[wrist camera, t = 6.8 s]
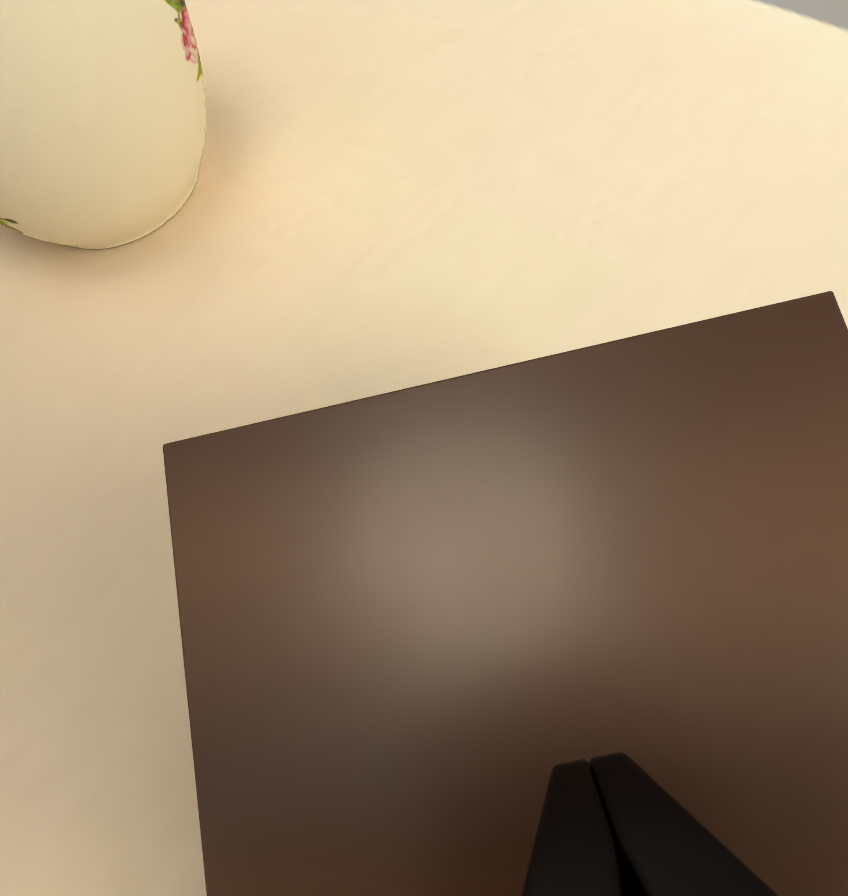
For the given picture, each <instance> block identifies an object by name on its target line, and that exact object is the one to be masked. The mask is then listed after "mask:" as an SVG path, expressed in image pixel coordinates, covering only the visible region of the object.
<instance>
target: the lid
mask: <svg viewBox="0 0 848 896" xmlns="http://www.w3.org/2000/svg"><path fill="white" fill-rule="evenodd" d="M163 454H164V464H165V474H166V484H167V495H168V505H169V515H170V525H171V535H172V545H173V556H174V566H175V576H176V586H177V596H178V607H179V617H180V627H181V637H182V647H183V657H184V668H185V678H186V688H187V698H188V708H189V719H190V729H191V739H192V749H193V759H194V769H195V780H196V790H197V800H198V810H199V820H200V830H201V841H202V851H203V861H204V871H205V881H206V892H207V896H521V895H522V891H523V887H524V882H525V878H526V874H527V870H528V866H529V862H530V857H531V853H532V849H533V845H534V841H535V836H536V832H537V828H538V824H539V820H540V816H541V811H542V807H543V803H544V799H545V795H546V790H547V786H548V782H549V778H550V774H551V770H552V768H553V766H555V765H556V764H559V763H564V762H569V761H574V760H579V759H584V760H586V761H587V762H588V763H589V765H590V760H591V758H592V757H595V756H600V755H605V754H610V753H615V752H623V753H625V754H627V755H628V756H629V757H630V758H631V759H632V760H634V761H635V762H636V763H637V764H638V765H639V766H640V767H641V768H642V769H643V770H644V771H645V772H647V773H648V774H649V775H650V776H651V777H652V778H653V779H654V780H655V781H656V782H657V783H658V784H659V785H661V786H662V787H663V788H664V789H665V790H666V791H667V792H668V793H669V794H670V795H671V796H672V797H673V798H675V799H676V800H677V801H678V802H679V803H680V804H681V805H682V806H683V807H684V808H685V809H686V810H687V811H689V812H690V813H691V814H692V815H693V816H694V817H695V818H696V819H697V820H698V821H699V822H700V823H701V824H703V825H704V826H705V827H706V828H707V829H708V830H709V831H710V832H711V833H712V834H713V835H714V836H715V837H717V838H718V839H719V840H720V841H721V842H722V843H723V844H724V845H725V846H726V847H727V848H728V849H729V850H731V851H732V852H733V853H734V854H735V855H736V856H737V857H738V858H739V859H740V860H741V861H742V862H743V863H745V864H746V865H747V866H748V867H749V868H750V869H751V870H752V871H753V872H754V873H755V874H756V875H757V876H759V877H760V878H761V879H762V880H763V881H764V882H765V883H766V884H767V885H768V886H769V887H770V888H771V889H773V890H774V891H775V892H776V893H777V894H778V895H779V896H848V329H847V326H846V324H845V321H844V319H843V316H842V314H841V311H840V309H839V306H838V304H837V301H836V298H835V296H834V293H833V292H832V291H829V292H824V293H820V294H815V295H811V296H807V297H802V298H798V299H794V300H789V301H785V302H781V303H776V304H772V305H768V306H763V307H759V308H755V309H750V310H746V311H741V312H737V313H733V314H728V315H724V316H720V317H715V318H711V319H707V320H702V321H698V322H694V323H689V324H685V325H681V326H676V327H672V328H667V329H663V330H659V331H654V332H650V333H646V334H641V335H637V336H633V337H628V338H624V339H620V340H615V341H611V342H607V343H602V344H598V345H593V346H589V347H585V348H580V349H576V350H572V351H567V352H563V353H559V354H554V355H550V356H546V357H541V358H537V359H533V360H528V361H524V362H520V363H515V364H511V365H506V366H502V367H498V368H493V369H489V370H485V371H480V372H476V373H472V374H467V375H463V376H459V377H454V378H450V379H446V380H441V381H437V382H432V383H428V384H424V385H419V386H415V387H411V388H406V389H402V390H398V391H393V392H389V393H385V394H380V395H376V396H372V397H367V398H363V399H358V400H354V401H350V402H345V403H341V404H337V405H332V406H328V407H324V408H319V409H315V410H311V411H306V412H302V413H298V414H293V415H289V416H284V417H280V418H276V419H271V420H267V421H263V422H258V423H254V424H250V425H245V426H241V427H237V428H232V429H228V430H224V431H219V432H215V433H210V434H206V435H202V436H197V437H193V438H189V439H184V440H180V441H176V442H171V443H167V444H164V445H163Z"/></svg>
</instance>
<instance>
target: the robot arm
mask: <svg viewBox="0 0 848 896" xmlns="http://www.w3.org/2000/svg"><path fill="white" fill-rule="evenodd" d="M521 896H779V895H778V894H777V893H776V892H775V891H774V890H773V889H771V888H770V887H769V886H768V885H767V884H766V883H765V882H764V881H763V880H762V879H761V878H760V877H759V876H757V875H756V874H755V873H754V872H753V871H752V870H751V869H750V868H749V867H748V866H747V865H746V864H745V863H743V862H742V861H741V860H740V859H739V858H738V857H737V856H736V855H735V854H734V853H733V852H732V851H731V850H729V849H728V848H727V847H726V846H725V845H724V844H723V843H722V842H721V841H720V840H719V839H718V838H717V837H715V836H714V835H713V834H712V833H711V832H710V831H709V830H708V829H707V828H706V827H705V826H704V825H703V824H701V823H700V822H699V821H698V820H697V819H696V818H695V817H694V816H693V815H692V814H691V813H690V812H689V811H687V810H686V809H685V808H684V807H683V806H682V805H681V804H680V803H679V802H678V801H677V800H676V799H675V798H673V797H672V796H671V795H670V794H669V793H668V792H667V791H666V790H665V789H664V788H663V787H662V786H661V785H659V784H658V783H657V782H656V781H655V780H654V779H653V778H652V777H651V776H650V775H649V774H648V773H647V772H645V771H644V770H643V769H642V768H641V767H640V766H639V765H638V764H637V763H636V762H635V761H634V760H632V759H631V758H630V757H629V756H628V755H627V754H625V753H623V752H615V753H610V754H605V755H600V756H595V757H592V758H591V760H590V765H589V763H588V762H587V761H586V760H584V759H579V760H574V761H569V762H564V763H559V764H556V765H555V766H553V768H552V770H551V774H550V778H549V782H548V786H547V790H546V795H545V799H544V803H543V807H542V811H541V816H540V820H539V824H538V828H537V832H536V836H535V841H534V845H533V849H532V853H531V857H530V862H529V866H528V870H527V874H526V878H525V882H524V887H523V891H522V895H521Z"/></svg>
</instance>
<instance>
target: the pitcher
mask: <svg viewBox="0 0 848 896" xmlns="http://www.w3.org/2000/svg"><path fill="white" fill-rule="evenodd" d="M205 135H206V107H205V92H204V83H203V76H202V68H201V62H200V58H199V53H198V48H197V43H196V39H195V35H194V32H193V28H192V25H191V21H190V18H189V15H188V11H187V8H186V5H185V1H184V0H0V225H2V226H5V227H7V228H9V229H11V230H13V231H16V232H19V233H21V234H24V235H27V236H30V237H33V238H36V239H39V240H42V241H46V242H51V243H57V244H63V245H70V246H73V247H78V248H83V249H104V248H111V247H116V246H119V245H123V244H126V243H129V242H132V241H135V240H137V239H139V238H141V237H143V236H145V235H147V234H149V233H151V232H152V231H154V230H156V229H157V228H159V227H160V226H161V225H163V224H164V223H165V222H167V221H168V220H169V219H170V218H171V217H172V216H174V215H175V213H176V212H177V211H178V210H179V209H180V208H181V207H182V206H183V204H184V203H185V202H186V200H187V199H188V197H189V196H190V194H191V192H192V191H193V188H194V186H195V184H196V181H197V177H198V172H199V165H200V162H201V158H202V154H203V150H204V145H205Z"/></svg>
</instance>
